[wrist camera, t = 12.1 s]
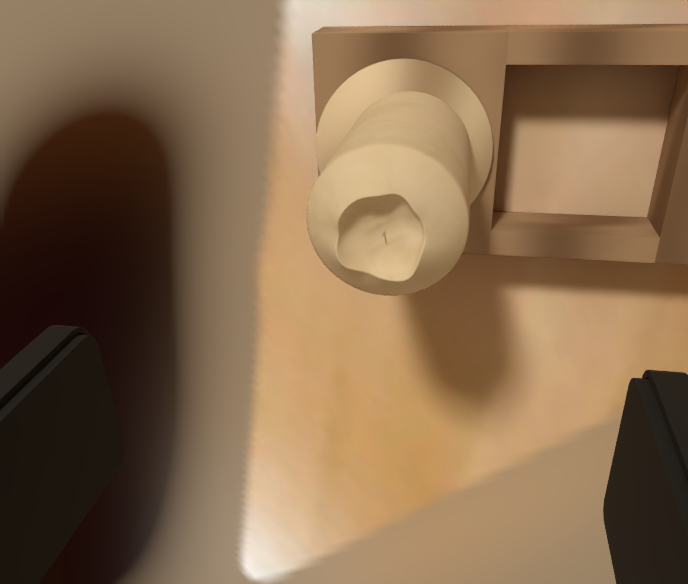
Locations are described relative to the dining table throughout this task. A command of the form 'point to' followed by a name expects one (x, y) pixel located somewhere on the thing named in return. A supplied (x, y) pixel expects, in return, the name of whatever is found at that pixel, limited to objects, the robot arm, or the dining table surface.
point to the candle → (395, 197)
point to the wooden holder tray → (485, 120)
